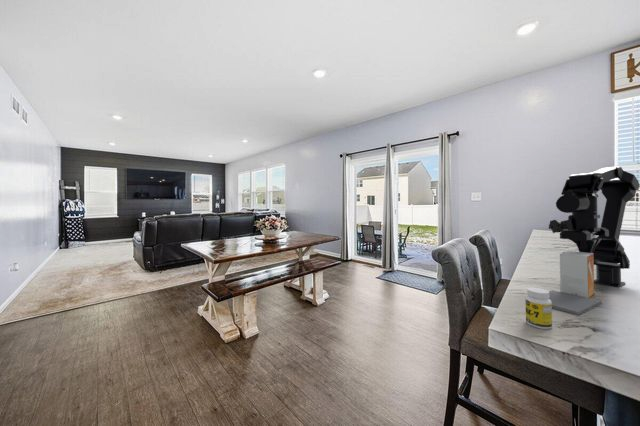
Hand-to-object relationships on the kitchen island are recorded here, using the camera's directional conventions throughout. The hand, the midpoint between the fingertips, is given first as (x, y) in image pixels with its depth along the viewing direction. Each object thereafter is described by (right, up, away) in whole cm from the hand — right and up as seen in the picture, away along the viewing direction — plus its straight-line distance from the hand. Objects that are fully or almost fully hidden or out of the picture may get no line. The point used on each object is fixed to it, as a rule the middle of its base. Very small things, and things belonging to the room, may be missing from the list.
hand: (585, 259), depth 81 cm
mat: (-16, -11, -9) cm, 21 cm away
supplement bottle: (-34, -12, -21) cm, 42 cm away
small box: (-5, -11, -3) cm, 12 cm away
